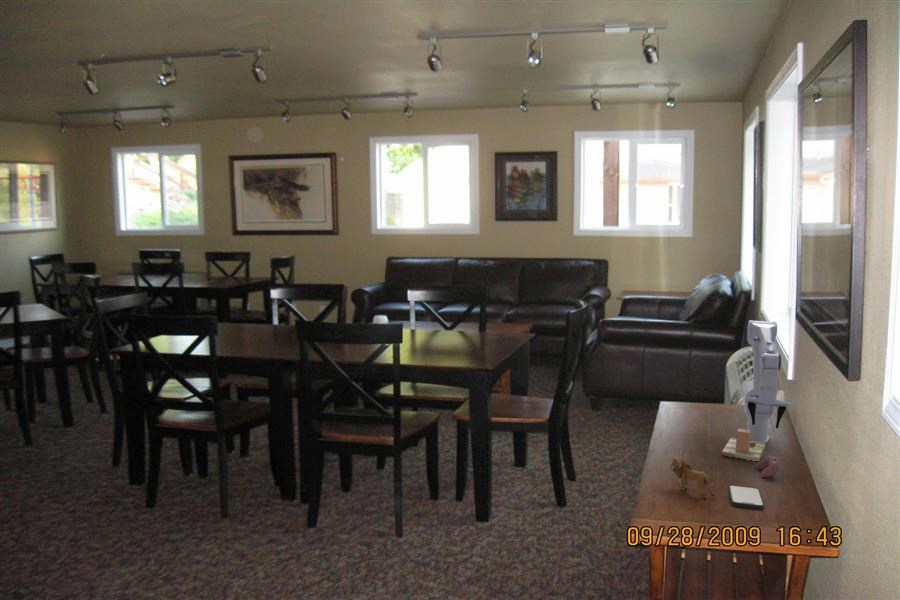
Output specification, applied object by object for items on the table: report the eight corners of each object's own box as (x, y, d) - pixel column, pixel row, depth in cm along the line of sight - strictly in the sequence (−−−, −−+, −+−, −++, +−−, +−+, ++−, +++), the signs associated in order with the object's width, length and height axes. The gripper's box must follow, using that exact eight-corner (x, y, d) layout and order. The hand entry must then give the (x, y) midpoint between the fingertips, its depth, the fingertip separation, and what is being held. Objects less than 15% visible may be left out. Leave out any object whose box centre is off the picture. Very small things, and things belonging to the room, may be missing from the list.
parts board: (730, 441, 298) (730, 437, 297) (765, 447, 292) (765, 442, 292) (721, 455, 280) (721, 451, 280) (758, 461, 274) (759, 457, 274)
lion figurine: (665, 487, 247) (667, 458, 246) (674, 483, 251) (676, 454, 249) (710, 500, 236) (713, 470, 235) (719, 496, 240) (721, 466, 239)
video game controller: (772, 484, 258) (784, 465, 256) (759, 476, 258) (771, 458, 257) (766, 474, 267) (778, 456, 266) (753, 466, 268) (765, 449, 266)
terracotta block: (737, 448, 284) (738, 428, 283) (749, 449, 282) (750, 430, 282) (735, 450, 281) (737, 431, 280) (747, 452, 279) (749, 432, 278)
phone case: (728, 490, 248) (731, 507, 232) (728, 484, 248) (731, 501, 232) (759, 493, 246) (764, 511, 230) (759, 488, 245) (764, 506, 230)
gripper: (744, 387, 283) (741, 425, 285) (789, 392, 276) (786, 431, 278) (747, 383, 289) (744, 420, 291) (791, 388, 283) (788, 427, 284)
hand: (765, 425), depth 285 cm, fingers open, 7 cm apart
